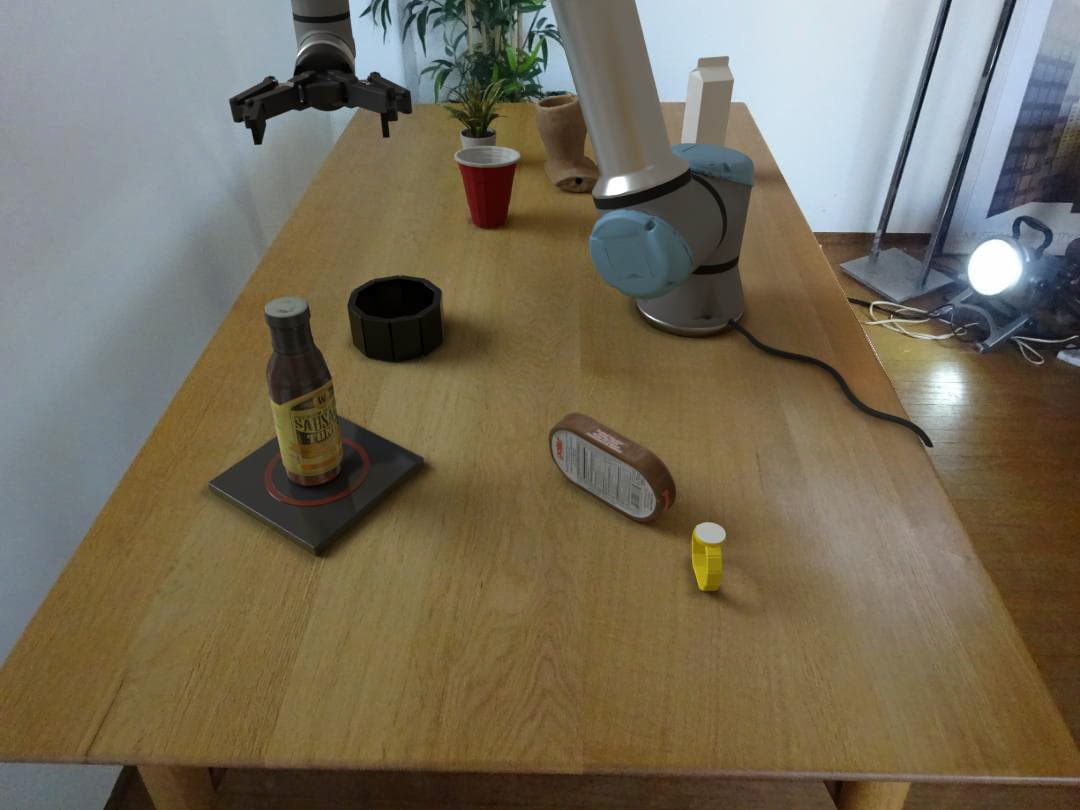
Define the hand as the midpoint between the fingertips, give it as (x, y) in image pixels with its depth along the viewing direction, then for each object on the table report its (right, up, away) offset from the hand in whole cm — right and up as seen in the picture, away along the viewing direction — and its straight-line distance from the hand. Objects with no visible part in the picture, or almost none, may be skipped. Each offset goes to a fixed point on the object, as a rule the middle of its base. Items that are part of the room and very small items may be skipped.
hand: (321, 128), depth 87 cm
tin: (+30, -39, -1) cm, 50 cm away
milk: (+54, +13, +68) cm, 87 cm away
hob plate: (0, -38, 0) cm, 38 cm away
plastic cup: (+15, +2, +52) cm, 54 cm away
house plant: (+12, +19, +74) cm, 77 cm away
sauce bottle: (0, -37, 0) cm, 37 cm away
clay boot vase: (+29, +13, +67) cm, 74 cm away
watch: (+39, -46, -10) cm, 61 cm away
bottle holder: (+4, -20, +23) cm, 31 cm away
